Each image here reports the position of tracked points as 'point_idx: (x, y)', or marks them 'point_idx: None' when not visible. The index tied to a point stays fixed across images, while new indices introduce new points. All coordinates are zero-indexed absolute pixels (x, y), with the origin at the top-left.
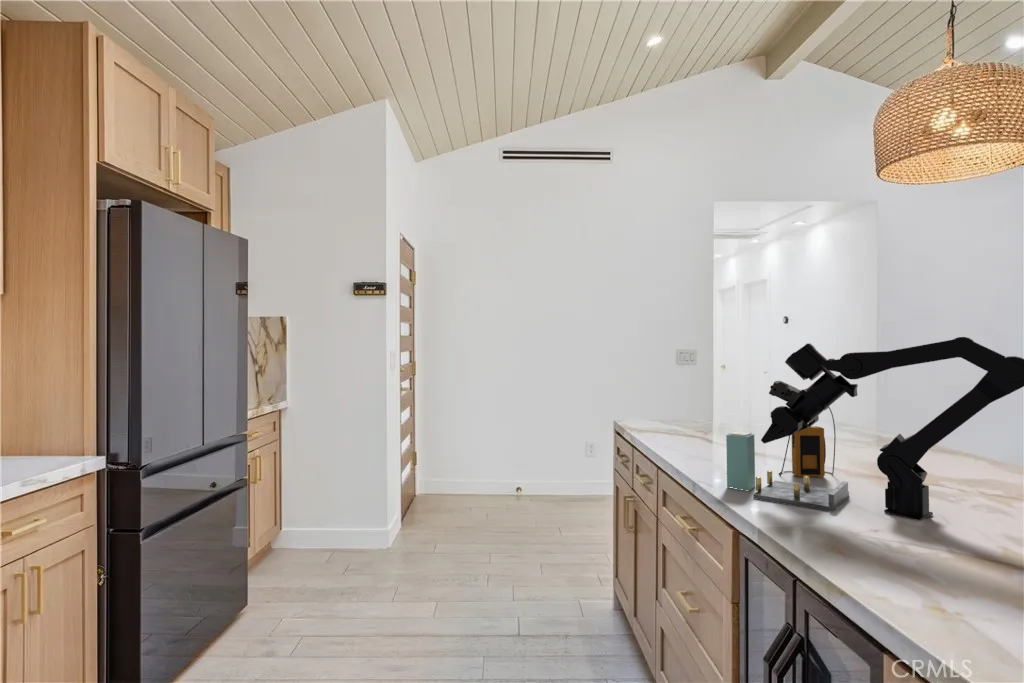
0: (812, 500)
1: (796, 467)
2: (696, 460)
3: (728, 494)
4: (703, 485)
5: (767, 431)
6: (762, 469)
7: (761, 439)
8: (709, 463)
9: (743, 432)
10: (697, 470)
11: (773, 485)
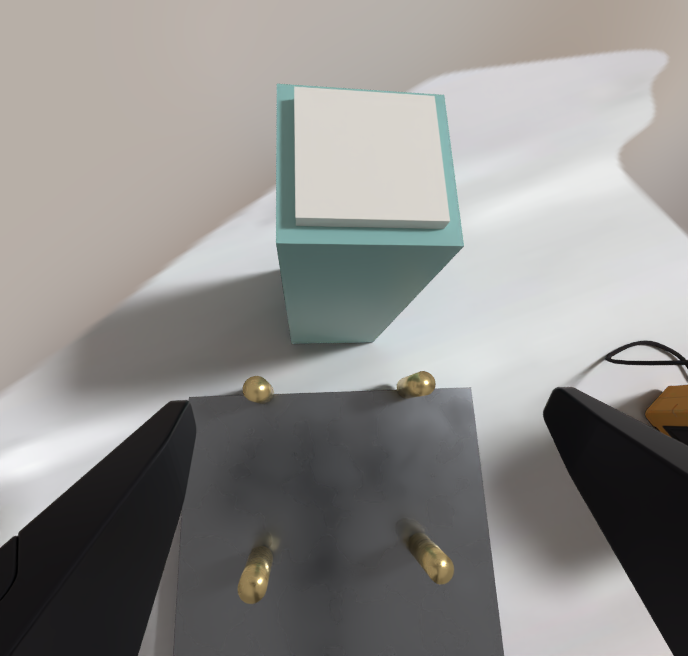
0: (235, 642)
1: (679, 411)
2: (599, 61)
3: (199, 303)
4: (272, 191)
5: (49, 516)
6: (653, 271)
7: (165, 407)
8: (593, 105)
9: (422, 163)
10: (467, 107)
11: (386, 410)
